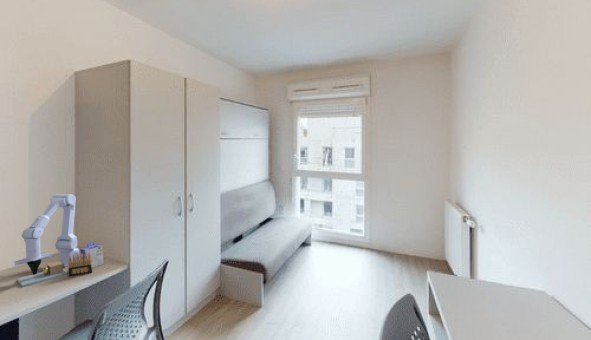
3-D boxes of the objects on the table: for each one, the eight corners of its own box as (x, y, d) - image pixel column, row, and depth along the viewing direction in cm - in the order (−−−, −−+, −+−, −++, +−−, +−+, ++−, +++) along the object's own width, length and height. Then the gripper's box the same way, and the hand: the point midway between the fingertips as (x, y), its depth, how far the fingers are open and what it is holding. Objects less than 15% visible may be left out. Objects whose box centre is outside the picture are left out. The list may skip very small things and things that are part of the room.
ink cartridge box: (98, 262, 172) (97, 240, 171) (103, 264, 170) (103, 241, 169) (80, 268, 163) (79, 245, 162) (86, 270, 161) (85, 246, 160)
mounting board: (60, 269, 162) (59, 259, 161) (66, 274, 155) (66, 264, 154) (17, 280, 147) (16, 269, 147) (22, 287, 140) (22, 276, 140)
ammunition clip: (68, 277, 152) (67, 256, 152) (68, 275, 154) (68, 255, 153) (91, 272, 158) (91, 252, 157) (92, 271, 160) (91, 251, 159)
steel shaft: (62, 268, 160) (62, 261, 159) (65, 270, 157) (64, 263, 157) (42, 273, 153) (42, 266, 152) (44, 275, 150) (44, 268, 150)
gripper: (16, 255, 139) (17, 281, 140) (53, 247, 151) (54, 271, 152) (13, 252, 143) (14, 277, 144) (49, 244, 155) (50, 268, 156)
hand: (34, 274), depth 148 cm, fingers closed
